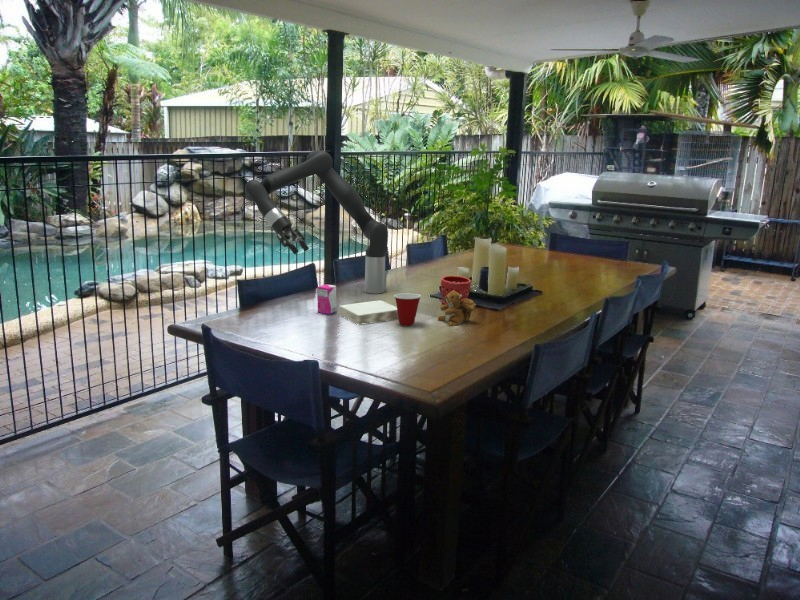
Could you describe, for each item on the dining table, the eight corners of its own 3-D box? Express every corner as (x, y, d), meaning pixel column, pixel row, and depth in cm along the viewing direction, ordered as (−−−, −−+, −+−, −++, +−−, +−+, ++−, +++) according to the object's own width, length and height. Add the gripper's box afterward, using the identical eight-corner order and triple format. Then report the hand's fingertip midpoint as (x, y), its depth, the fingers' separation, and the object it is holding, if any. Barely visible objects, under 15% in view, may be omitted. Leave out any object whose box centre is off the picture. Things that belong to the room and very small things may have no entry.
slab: (380, 309, 281) (380, 300, 280) (400, 318, 268) (401, 309, 267) (338, 314, 270) (339, 305, 269) (358, 325, 257) (358, 315, 256)
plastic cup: (413, 319, 268) (415, 290, 265) (424, 326, 258) (425, 297, 255) (388, 321, 264) (389, 292, 261) (398, 328, 254) (399, 298, 251)
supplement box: (325, 310, 276) (325, 283, 273) (336, 312, 273) (337, 285, 270) (316, 313, 271) (317, 286, 268) (328, 315, 268) (328, 288, 265)
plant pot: (436, 306, 288) (438, 280, 285) (443, 299, 300) (445, 274, 297) (465, 310, 285) (467, 283, 282) (471, 303, 297) (473, 277, 294)
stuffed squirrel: (435, 319, 268) (437, 288, 265) (466, 317, 273) (468, 286, 270) (445, 326, 259) (447, 294, 256) (477, 324, 264) (479, 292, 261)
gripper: (274, 217, 263) (299, 248, 262) (292, 213, 276) (316, 243, 275) (263, 229, 266) (287, 259, 265) (281, 225, 279) (305, 254, 278)
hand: (302, 251), depth 270 cm, fingers open, 8 cm apart
